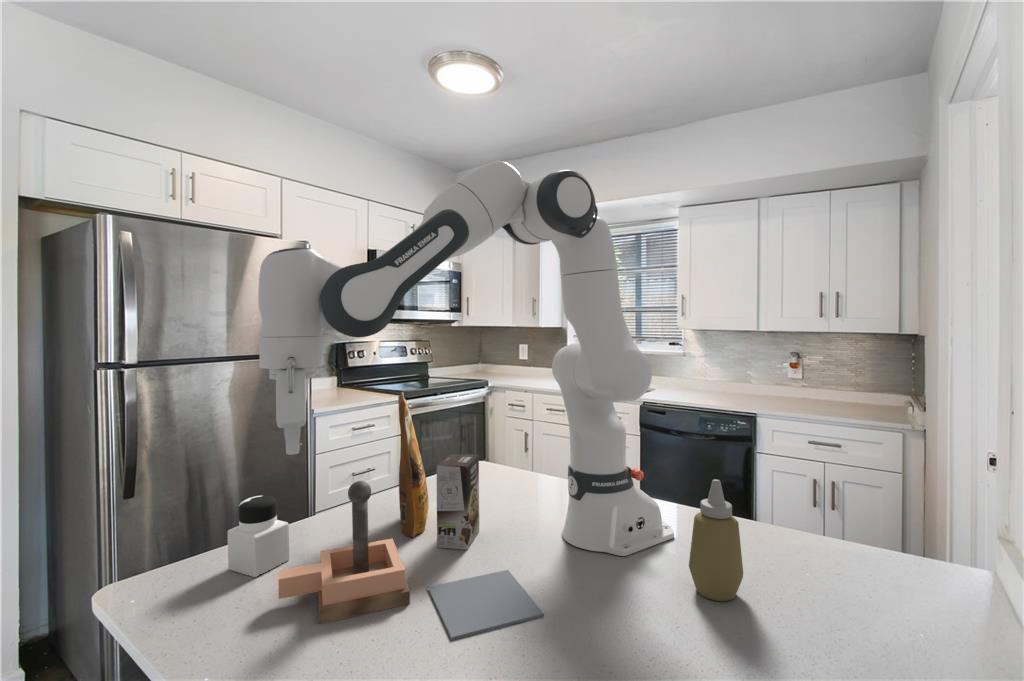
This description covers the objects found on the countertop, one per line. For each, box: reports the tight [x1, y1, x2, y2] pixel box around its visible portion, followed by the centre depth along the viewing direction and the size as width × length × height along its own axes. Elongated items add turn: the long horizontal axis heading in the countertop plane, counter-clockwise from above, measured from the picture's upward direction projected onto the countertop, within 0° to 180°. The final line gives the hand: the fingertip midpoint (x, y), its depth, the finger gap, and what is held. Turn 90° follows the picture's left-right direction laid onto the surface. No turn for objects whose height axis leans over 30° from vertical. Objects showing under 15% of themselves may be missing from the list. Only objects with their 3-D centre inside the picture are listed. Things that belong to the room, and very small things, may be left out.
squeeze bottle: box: [688, 479, 744, 602], centre depth 78 cm, size 8×8×18 cm
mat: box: [427, 569, 545, 641], centre depth 76 cm, size 14×14×1 cm
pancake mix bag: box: [398, 391, 430, 538], centre depth 107 cm, size 7×19×28 cm, turn 6°
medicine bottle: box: [226, 495, 290, 578], centre depth 88 cm, size 7×7×12 cm
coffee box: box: [436, 453, 480, 551], centre depth 98 cm, size 9×6×16 cm
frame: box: [277, 538, 406, 606], centre depth 79 cm, size 18×12×3 cm, turn 113°
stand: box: [317, 480, 411, 625], centre depth 80 cm, size 13×14×18 cm
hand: (293, 446), depth 75 cm, fingers open, 8 cm apart
